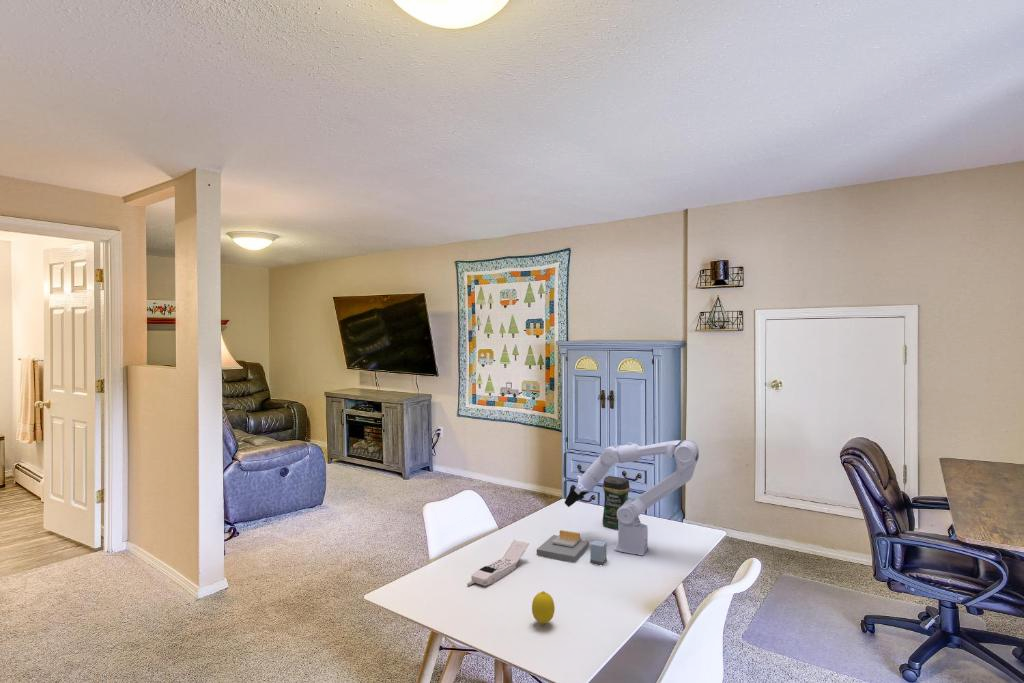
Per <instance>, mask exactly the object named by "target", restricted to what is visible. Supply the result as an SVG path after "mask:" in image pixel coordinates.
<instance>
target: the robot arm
mask: <svg viewBox="0 0 1024 683" xmlns="http://www.w3.org/2000/svg"><path fill="white" fill-rule="evenodd" d="M656 455H666V456H667V457H669V458H671V459H673V458H674V460H675V463H676V468H675V469H676V470H675V471H674V472H673V473H671V474H670V475H668V476H666V477H665V478H663V479H662V480H661V481H659V482H657V483H656V484H654V485H653V486H651V487H650V488H649V489H648V490H646V491H644V492H643V493H642V494H640V495H638V496H636V497H634V498H628V500H626V501H625V503H624V504H623V505H622V506H621V507H620V508H619V509H618V510H617V518H618V529H617V530H618V532H617V535H618V537H617V538H618V540H617V542H618V543H617V545H616V546H615V547H614V551H615V552H621V553H625V554H626V553H627V554H632V555H636V554H638V556H644V555H645V554H646V552H647V550H648V549H649V546H648V545H649V544H648V543H649V542H648V541H649V534H648V533H649V532H648V530H649V529H648V525H647V524H643V523H641V519H640V518H639V517H640V516H641V515H642V514H643V513H644V512H645V511H646V510H648V509H649V508H650V507H652V506H653V505H655V504H656V503H658V502H659V501H661V500H663V499H664V498H666V497H667V496H669V495H671V493H673V492H675V491H676V490H678V489H679V488H680V487H682V486H684V485H685V484H687V483H688V482H690V480H691V479H692V478H693V475H694V473H695V469H696V467H697V464H698V461H699V458H700V457H699V456H700V454H699V446H698V444H697V443H696V442H695V441H693V440H691V439H684V440H680V439H677V440H669V441H663V442H662V441H661V442H657V443H652V444H646V445H643V446H640V445H639V444H637V443H633V442H632V441H631V442H627V444H623V445H618V444H614V445H612V446H611V445H610V446H608V447H606V448H604V449H603V450H602V451H601V452H600V455H599V456H598V457H597V459H595V460H594V461H593V462H592V464H591V465H589V467H588V468H587V469H586V471H584V473H583V474H582V475H580V474H578V475H577V476H576V477H575V478H576V479H577V486H576V485H575V484H572V485H571V486H570V488H569V492H568V495H567V497H566V498H565V500H564V504H565V505H566V506H567V507H568V508H570V507H571V506H573V505H574V504H575V503H576V502H578V501H580V500H582V499H584V498H585V495H587V494H589V493H592V492H593V491H594V488H595V487H596V486H598V484H599V483H600V482H601V480H602V479H604V478H605V477H606V475H607V474H608V473H609V471H610V469H611V468H612V467H613V466H614V465H616V464H617V463H619V464H623V463H632V462H639V461H640V460H641V459H642V457H646V456H647V457H648V456H656ZM647 548H648V549H647ZM645 551H646V552H645Z"/></svg>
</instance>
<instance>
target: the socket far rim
mask: <svg viewBox="0 0 1024 683" xmlns="http://www.w3.org/2000/svg"><path fill="white" fill-rule="evenodd" d="M555 538H556V537H553V535H551V536H550V537H549V538H548V539H547V540H546V541H545V542H547V543H552V541H553V540H554V539H555Z"/></svg>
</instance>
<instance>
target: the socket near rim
mask: <svg viewBox="0 0 1024 683" xmlns="http://www.w3.org/2000/svg"><path fill="white" fill-rule="evenodd" d="M574 548H580V549H582V555H583V554H584V553H585V552H586V551H587V550H588V549H589V548H588V543H586V542H581V541H579V542H578V543H577V544H576V545H575V546H574Z"/></svg>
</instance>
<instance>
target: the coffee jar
mask: <svg viewBox="0 0 1024 683" xmlns="http://www.w3.org/2000/svg"><path fill="white" fill-rule="evenodd" d="M602 489H603V492H604V506H603V514H602V525H603V526H604V527H607V528H611V529H614V528H615V530H618V518H617V510H618V509H619V508H620V507H621V506H622V505H623V504H624V503H625V501H626V500H628V499H629V492H630V489H631V488H630V481H629V478H625V477H618V476H613V475H608V476H604V477H603V485H602Z"/></svg>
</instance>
